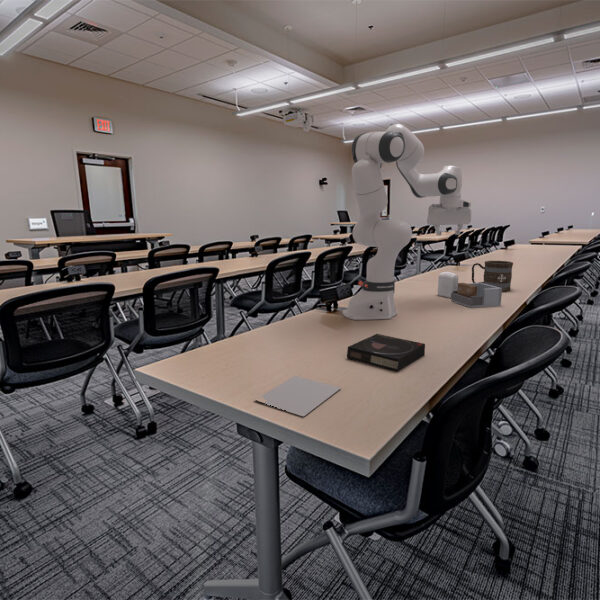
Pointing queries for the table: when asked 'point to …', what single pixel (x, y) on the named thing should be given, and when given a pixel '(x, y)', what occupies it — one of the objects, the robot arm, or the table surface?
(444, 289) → the photo printer
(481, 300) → the cabinet
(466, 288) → the brown rectangular block
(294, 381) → the paper stack
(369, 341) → the portable cd player
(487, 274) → the mug
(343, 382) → the table surface
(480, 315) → the table surface
